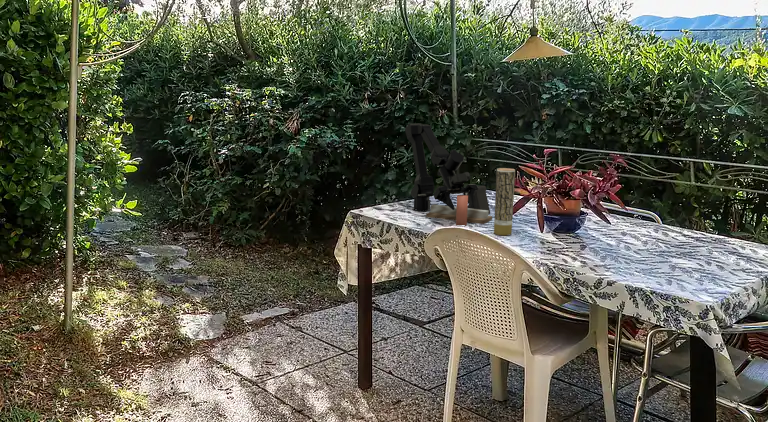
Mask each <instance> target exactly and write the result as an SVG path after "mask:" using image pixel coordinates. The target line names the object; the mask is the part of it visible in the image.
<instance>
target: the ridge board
mask: <svg viewBox="0 0 768 422" xmlns="http://www.w3.org/2000/svg"><path fill="white" fill-rule="evenodd" d="M430 208H431V209H430V211H429V212H426V214H425V217H426V218H432V219H439V220H448V221H455V222H456V211H457V206H454V208H455V209H454V210H452V209H451V208H450V207H448V206H447V205H445V204H435V203H434V204H430ZM488 213H489V211H488V210H479V209H470V208H468V209H467V223H472V224H480V225H485V224H487V223H488V222H490V221H492V220H493V216H492V215H489V214H488Z"/></svg>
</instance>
